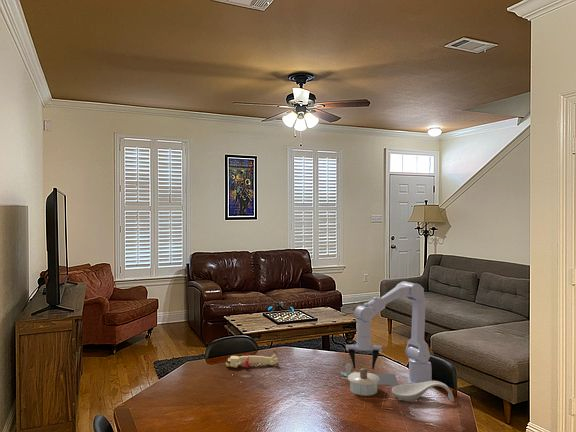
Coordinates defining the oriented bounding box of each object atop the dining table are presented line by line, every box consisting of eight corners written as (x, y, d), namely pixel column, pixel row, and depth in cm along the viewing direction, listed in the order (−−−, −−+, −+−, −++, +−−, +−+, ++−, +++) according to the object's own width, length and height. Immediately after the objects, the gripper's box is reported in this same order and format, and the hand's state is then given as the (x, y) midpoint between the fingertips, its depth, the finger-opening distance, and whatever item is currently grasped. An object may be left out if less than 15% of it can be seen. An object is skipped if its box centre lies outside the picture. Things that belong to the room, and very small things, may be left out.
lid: (378, 374, 200) (378, 364, 199) (380, 385, 187) (380, 375, 187) (347, 373, 201) (347, 363, 201) (347, 384, 188) (347, 373, 188)
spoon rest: (394, 404, 181) (394, 386, 181) (389, 393, 192) (389, 375, 192) (456, 406, 179) (456, 387, 179) (448, 394, 191) (448, 377, 191)
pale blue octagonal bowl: (376, 386, 199) (376, 375, 199) (378, 397, 188) (378, 384, 188) (350, 385, 200) (350, 374, 200) (350, 395, 189) (350, 383, 189)
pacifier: (357, 380, 207) (356, 375, 213) (357, 366, 206) (356, 362, 212) (340, 380, 207) (340, 375, 213) (340, 366, 207) (340, 361, 213)
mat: (394, 375, 213) (394, 374, 213) (398, 386, 199) (398, 385, 199) (363, 373, 215) (363, 372, 215) (365, 385, 201) (365, 383, 201)
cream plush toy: (275, 364, 233) (225, 362, 229) (277, 346, 233) (226, 344, 229) (278, 371, 223) (225, 369, 220) (279, 352, 223) (227, 350, 220)
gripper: (380, 333, 197) (380, 365, 197) (345, 332, 198) (345, 364, 199) (382, 337, 190) (382, 371, 190) (346, 336, 191) (346, 369, 192)
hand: (363, 367), depth 194 cm, fingers open, 7 cm apart
